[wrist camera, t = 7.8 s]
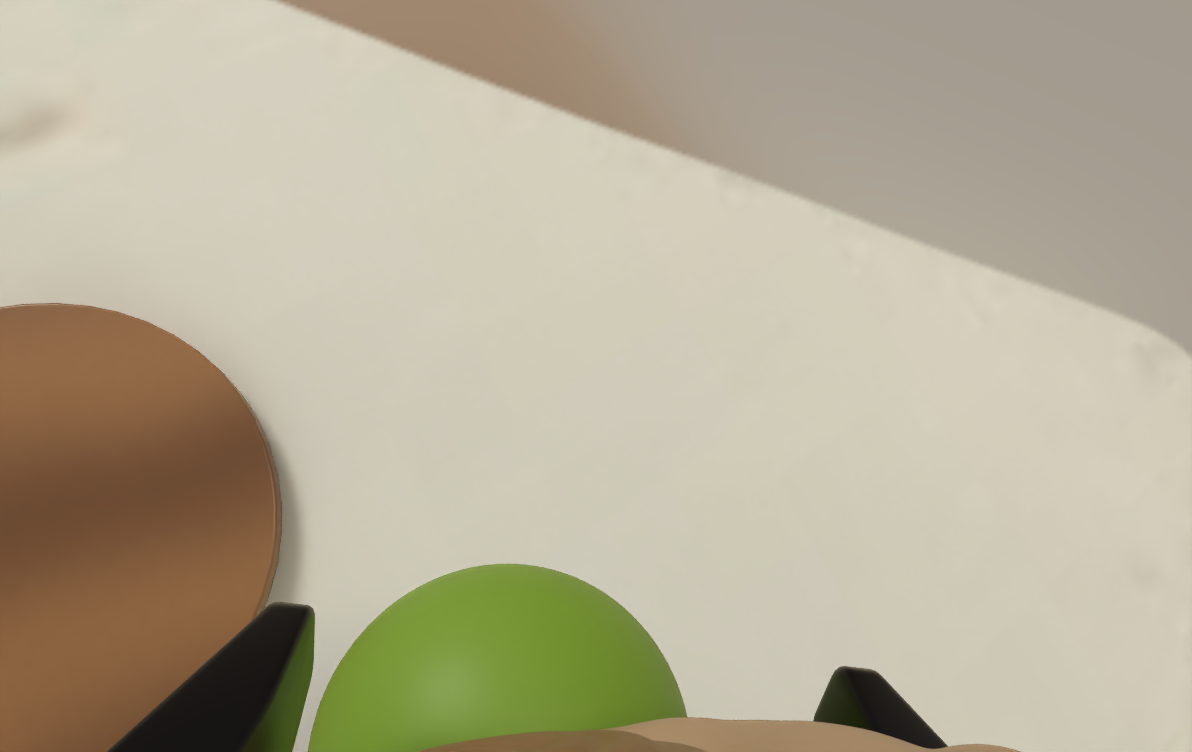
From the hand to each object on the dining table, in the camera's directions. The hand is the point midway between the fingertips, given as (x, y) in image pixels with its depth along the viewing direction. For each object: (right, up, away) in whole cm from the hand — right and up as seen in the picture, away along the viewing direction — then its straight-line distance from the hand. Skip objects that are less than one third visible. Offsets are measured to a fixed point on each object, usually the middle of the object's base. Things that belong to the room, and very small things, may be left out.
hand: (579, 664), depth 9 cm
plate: (-13, -1, +11) cm, 17 cm away
